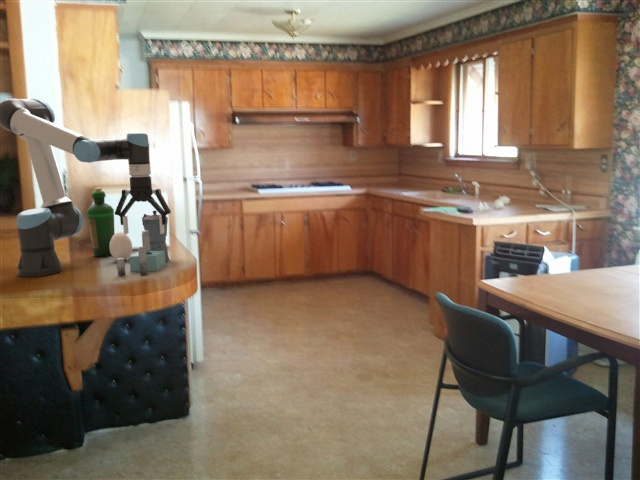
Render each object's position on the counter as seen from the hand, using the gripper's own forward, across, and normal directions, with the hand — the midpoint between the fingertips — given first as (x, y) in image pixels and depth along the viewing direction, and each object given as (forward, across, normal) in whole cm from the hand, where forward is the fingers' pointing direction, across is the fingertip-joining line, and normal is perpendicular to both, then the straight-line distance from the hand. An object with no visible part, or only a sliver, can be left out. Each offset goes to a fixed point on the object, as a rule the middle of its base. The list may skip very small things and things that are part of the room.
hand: (144, 233), depth 238 cm
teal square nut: (+13, +1, 0) cm, 13 cm away
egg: (+14, -15, +16) cm, 26 cm away
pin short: (+13, -5, -11) cm, 18 cm away
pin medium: (+13, +3, -11) cm, 17 cm away
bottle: (+14, -27, +28) cm, 41 cm away
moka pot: (+13, 0, +13) cm, 18 cm away
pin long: (+13, +1, 0) cm, 13 cm away
